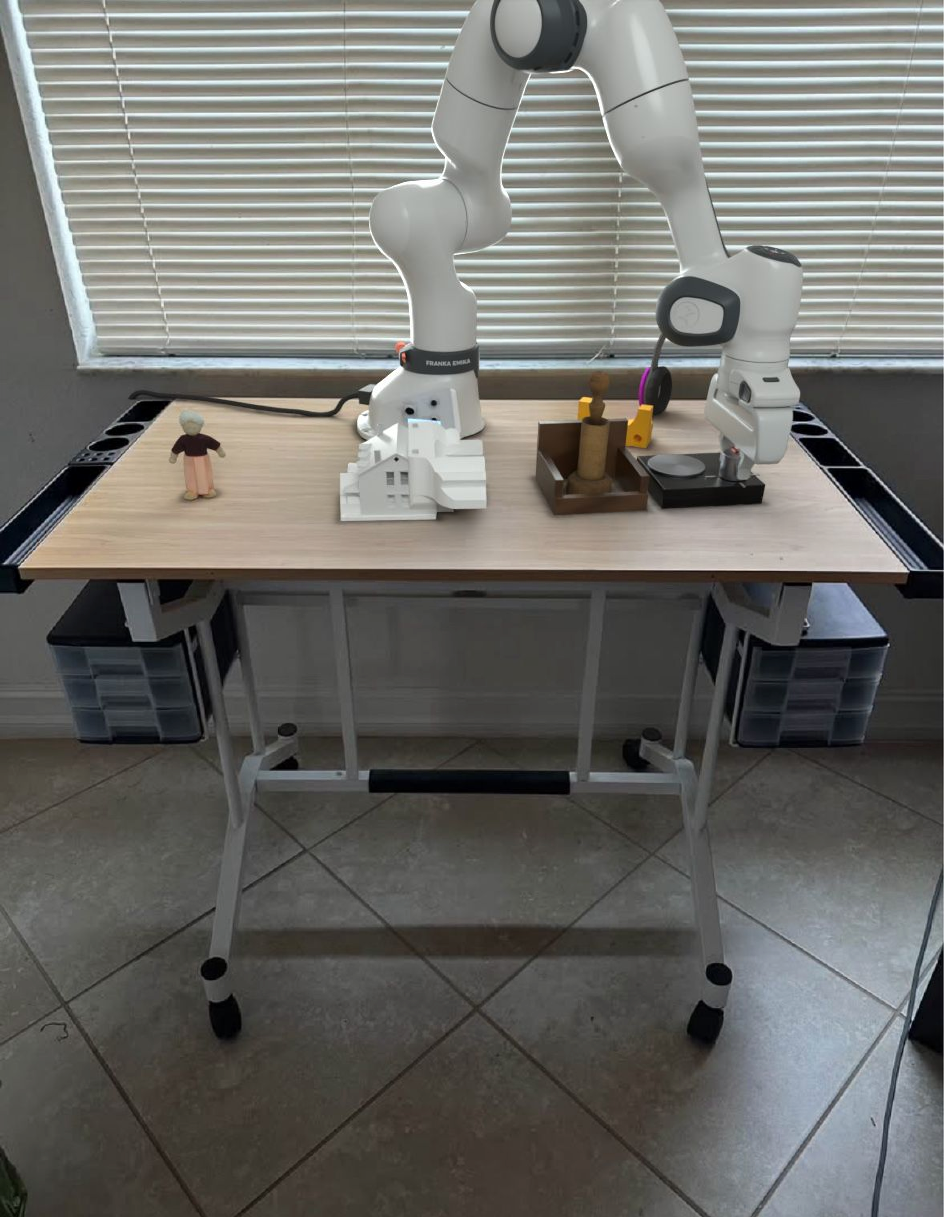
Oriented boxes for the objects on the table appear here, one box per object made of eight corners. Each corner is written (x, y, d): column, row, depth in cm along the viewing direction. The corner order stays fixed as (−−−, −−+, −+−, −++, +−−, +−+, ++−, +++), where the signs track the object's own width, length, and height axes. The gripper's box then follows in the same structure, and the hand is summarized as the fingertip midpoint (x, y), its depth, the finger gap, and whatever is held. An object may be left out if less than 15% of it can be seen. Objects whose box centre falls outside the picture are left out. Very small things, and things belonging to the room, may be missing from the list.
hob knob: (751, 480, 121) (756, 455, 119) (724, 481, 121) (728, 456, 119) (740, 470, 125) (745, 445, 123) (714, 471, 124) (718, 446, 122)
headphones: (758, 425, 151) (781, 309, 140) (743, 440, 144) (766, 319, 134) (649, 405, 160) (662, 295, 150) (630, 418, 154) (643, 303, 143)
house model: (347, 482, 127) (342, 419, 122) (479, 480, 128) (480, 417, 123) (338, 538, 111) (332, 468, 106) (489, 535, 112) (490, 466, 107)
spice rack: (554, 515, 118) (558, 454, 113) (535, 477, 129) (538, 421, 125) (646, 510, 120) (654, 450, 115) (620, 474, 131) (626, 418, 126)
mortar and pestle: (609, 504, 121) (622, 380, 112) (564, 500, 122) (573, 376, 113) (612, 486, 127) (624, 366, 117) (569, 482, 128) (578, 363, 118)
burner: (657, 478, 122) (658, 476, 122) (640, 457, 129) (640, 455, 129) (713, 476, 123) (714, 473, 123) (693, 455, 130) (693, 452, 130)
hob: (663, 510, 120) (666, 490, 118) (634, 474, 131) (637, 454, 129) (767, 505, 121) (771, 485, 120) (730, 469, 133) (733, 450, 131)
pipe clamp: (650, 439, 144) (655, 402, 141) (645, 448, 141) (650, 410, 137) (582, 430, 148) (585, 393, 145) (576, 438, 144) (578, 401, 141)
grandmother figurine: (179, 504, 120) (163, 417, 113) (174, 494, 123) (158, 409, 116) (233, 494, 123) (221, 410, 116) (227, 485, 126) (214, 402, 119)
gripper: (702, 356, 124) (688, 446, 131) (759, 399, 106) (740, 500, 113) (743, 355, 124) (727, 444, 132) (807, 397, 107) (785, 498, 114)
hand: (733, 470), depth 122 cm, fingers closed on hob knob, 4 cm apart
